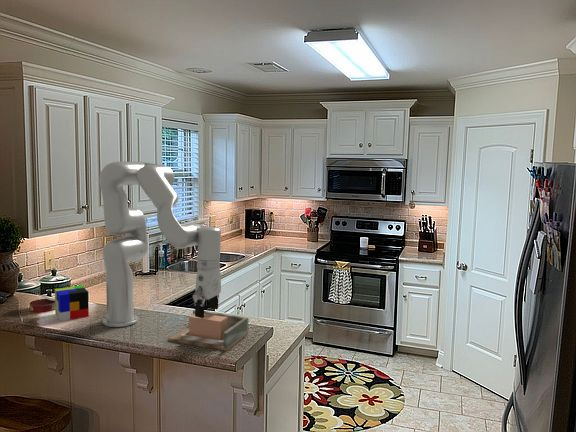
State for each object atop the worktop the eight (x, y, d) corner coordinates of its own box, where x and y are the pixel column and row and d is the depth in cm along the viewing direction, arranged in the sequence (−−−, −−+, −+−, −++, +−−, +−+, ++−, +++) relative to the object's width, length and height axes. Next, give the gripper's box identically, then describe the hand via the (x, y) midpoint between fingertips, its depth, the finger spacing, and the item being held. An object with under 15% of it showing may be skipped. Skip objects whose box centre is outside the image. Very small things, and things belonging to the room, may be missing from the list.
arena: (168, 340, 161) (168, 323, 160) (194, 325, 177) (194, 309, 176) (226, 351, 154) (226, 333, 153) (248, 333, 170) (248, 317, 169)
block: (227, 336, 163) (227, 317, 162) (220, 341, 158) (220, 321, 157) (196, 331, 167) (196, 312, 166) (189, 336, 162) (189, 316, 161)
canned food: (35, 318, 194) (37, 294, 197) (61, 315, 195) (62, 291, 198) (22, 313, 183) (24, 288, 187) (49, 310, 184) (50, 285, 188)
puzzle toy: (60, 321, 177) (59, 295, 176) (55, 313, 185) (54, 289, 184) (88, 316, 183) (88, 291, 182) (82, 309, 191) (82, 285, 190)
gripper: (205, 270, 150) (203, 322, 152) (230, 260, 167) (228, 307, 169) (185, 267, 153) (183, 318, 155) (211, 257, 169) (209, 304, 171)
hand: (206, 312), depth 162 cm, fingers open, 9 cm apart
